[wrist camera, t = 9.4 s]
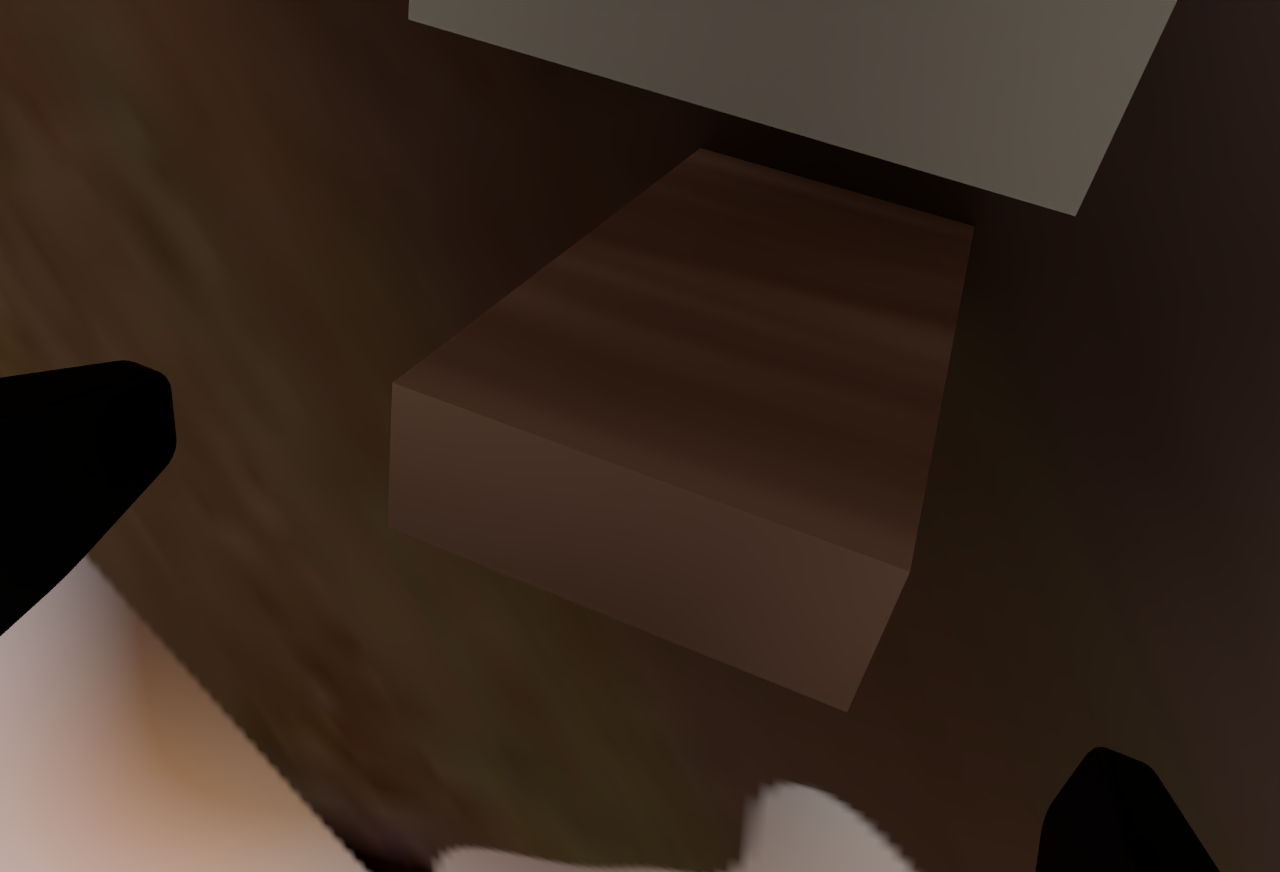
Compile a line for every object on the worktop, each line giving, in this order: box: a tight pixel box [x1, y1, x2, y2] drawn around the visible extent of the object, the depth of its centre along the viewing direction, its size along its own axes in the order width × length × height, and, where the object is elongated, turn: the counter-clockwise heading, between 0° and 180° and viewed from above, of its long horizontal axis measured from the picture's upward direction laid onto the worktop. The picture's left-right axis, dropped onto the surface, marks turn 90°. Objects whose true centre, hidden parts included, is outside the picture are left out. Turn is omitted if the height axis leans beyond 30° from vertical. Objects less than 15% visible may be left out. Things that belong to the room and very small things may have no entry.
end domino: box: [388, 148, 975, 712], centre depth 13 cm, size 2×5×10 cm, turn 80°
